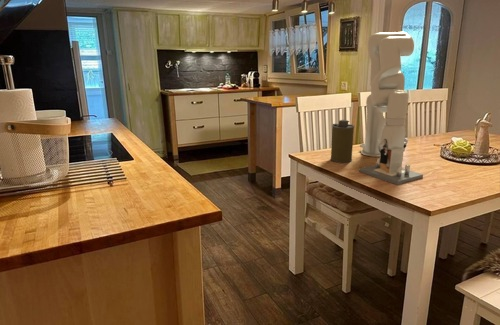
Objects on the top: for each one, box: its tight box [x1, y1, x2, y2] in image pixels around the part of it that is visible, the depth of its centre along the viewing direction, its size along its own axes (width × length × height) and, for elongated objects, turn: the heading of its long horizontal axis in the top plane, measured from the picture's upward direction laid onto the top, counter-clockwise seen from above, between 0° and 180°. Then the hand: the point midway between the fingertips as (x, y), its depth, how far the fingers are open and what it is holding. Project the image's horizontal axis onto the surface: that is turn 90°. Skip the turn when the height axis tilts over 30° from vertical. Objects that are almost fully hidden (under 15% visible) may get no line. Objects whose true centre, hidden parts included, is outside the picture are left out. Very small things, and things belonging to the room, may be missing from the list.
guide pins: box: [376, 157, 411, 177], centre depth 146 cm, size 14×7×4 cm, turn 29°
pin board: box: [358, 163, 424, 186], centre depth 146 cm, size 20×16×2 cm
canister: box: [330, 119, 355, 164], centre depth 166 cm, size 11×10×20 cm
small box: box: [380, 147, 405, 174], centre depth 145 cm, size 8×6×10 cm
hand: (391, 161), depth 145 cm, fingers open, 9 cm apart
